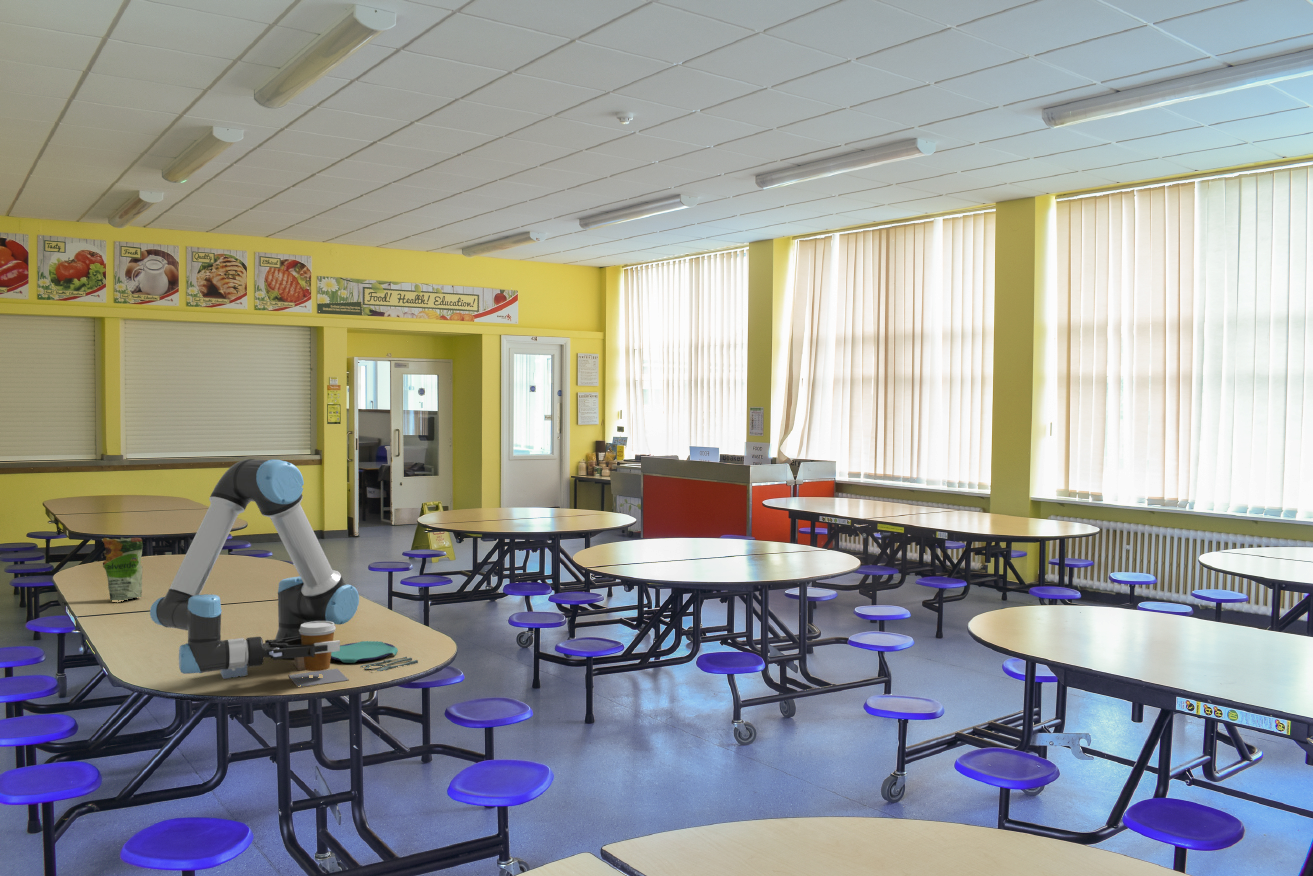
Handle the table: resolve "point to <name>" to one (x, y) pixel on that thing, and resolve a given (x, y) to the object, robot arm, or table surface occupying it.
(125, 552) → the pouch
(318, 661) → the disposable coffee cup
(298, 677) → the mat
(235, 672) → the slate block
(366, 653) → the cutlery set
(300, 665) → the walnut block
